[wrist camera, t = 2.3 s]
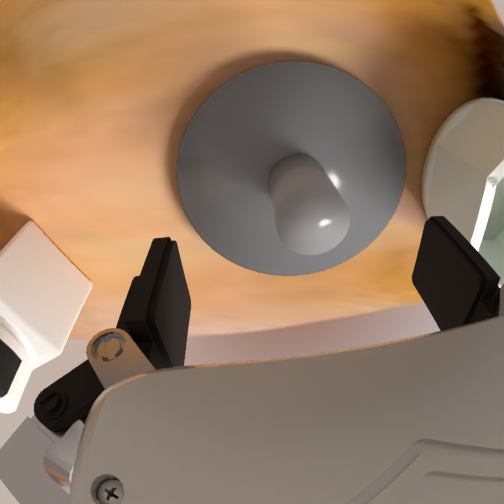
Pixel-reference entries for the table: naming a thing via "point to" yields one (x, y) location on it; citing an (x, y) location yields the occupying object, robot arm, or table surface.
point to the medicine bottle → (34, 308)
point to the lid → (291, 168)
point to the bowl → (470, 176)
